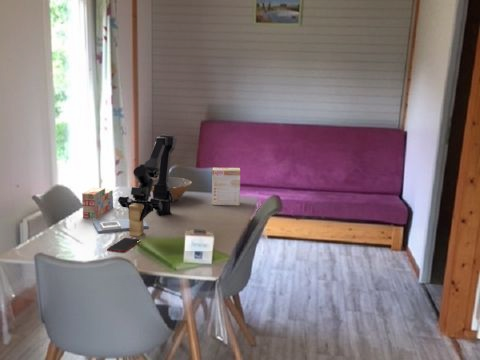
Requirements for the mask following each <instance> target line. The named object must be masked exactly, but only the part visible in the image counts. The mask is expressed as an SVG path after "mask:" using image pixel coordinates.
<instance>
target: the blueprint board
mask: <svg viewBox="0 0 480 360" xmlns="http://www.w3.org/2000/svg"><path fill="white" fill-rule="evenodd" d="M92 224H93V226H94V228H95V229H96V232H97V234H105V233H112V232H122V231H129V217H128V218H120V219H110V220H101V221H100V220H99V221H93V222H92ZM148 228H149V224H147V222H146V221H145V220H144V219H143V229H148Z"/></svg>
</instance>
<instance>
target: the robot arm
mask: <svg viewBox="0 0 480 360" xmlns="http://www.w3.org/2000/svg"><path fill="white" fill-rule="evenodd" d="M177 141H178V140H177V137H176V136H175V135H173V134H161V135H160V136H157V137H156V138H155V140H154V142H155V143H154V145H153V148H152V150H151V154H150V156H149V158H148V160H147V161H145V162H144V164H143V163H141V164H140V163H139V164H140V165H138V166H137V167H135V169H133V175H134V177H135V178H136V181H137V183H139V185H138V187H133V186H132V187H131V189H130V195H131V196H132V198H130V197H129V195H120V196H119V197H118V199H117V202H118V203H119V205H120V206H121V207H122V208H127V209H128V211H129V206H130V205H131V204H133V203H137V204H143V211H142V214H141V217H140V221H142V220H144V219H145V218H146V217H147V216H148V215H149V214H150V213H152V212H154V210H155V213H156V214H157V215H158V216H165V215H172V212H171V203H173V202H174V201H173V195H172V193H171V187H170V185H169V183H168V178H169V177H170V169H171V168H170V167H171V157H172V153H173V152H174V150H175V148H176V145H177ZM156 178H159V180H158V182H157V184H155V185H154V181H153V179H156ZM152 186H154V190H153V192H152V191H151V190H152ZM151 193H152V194H151ZM151 196H152V198H150V197H151Z"/></svg>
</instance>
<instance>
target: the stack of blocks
mask: <svg viewBox="0 0 480 360" xmlns="http://www.w3.org/2000/svg"><path fill="white" fill-rule="evenodd" d="M81 194H82V201H81V202H82V217H83V218H84V219H93V218H94V219H95V218H96V219H97V218H99V217H100V216H102V215H104V214H105V213H106V212H108V211H109V210H111V209H112V208H113V207H114V195H113V189H106V187H105V188H104V187H91V188H89V189H88V190H86V191H85V192H82V193H81Z"/></svg>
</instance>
